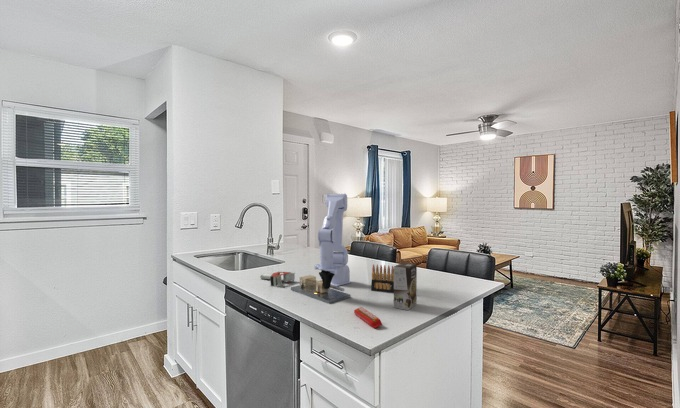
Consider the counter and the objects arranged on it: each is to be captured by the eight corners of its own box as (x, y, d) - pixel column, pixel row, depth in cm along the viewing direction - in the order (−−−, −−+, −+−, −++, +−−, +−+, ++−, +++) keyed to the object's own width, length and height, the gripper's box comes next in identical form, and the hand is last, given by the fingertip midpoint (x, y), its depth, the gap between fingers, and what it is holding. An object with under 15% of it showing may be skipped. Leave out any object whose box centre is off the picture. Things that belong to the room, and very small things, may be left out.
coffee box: (409, 310, 126) (409, 267, 125) (393, 307, 129) (393, 266, 129) (417, 304, 133) (417, 263, 133) (402, 301, 137) (401, 261, 136)
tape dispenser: (260, 281, 178) (258, 289, 158) (260, 271, 178) (258, 277, 158) (294, 277, 181) (296, 285, 161) (293, 268, 181) (295, 274, 161)
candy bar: (352, 314, 123) (352, 306, 123) (361, 313, 124) (361, 305, 124) (373, 330, 108) (373, 321, 108) (383, 328, 109) (383, 319, 109)
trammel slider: (322, 289, 149) (322, 280, 149) (328, 291, 146) (328, 281, 146) (315, 291, 146) (314, 281, 146) (320, 293, 144) (320, 283, 143)
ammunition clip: (371, 290, 152) (370, 264, 152) (372, 289, 154) (372, 263, 154) (394, 293, 148) (394, 266, 148) (395, 292, 150) (395, 265, 150)
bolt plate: (311, 285, 162) (311, 282, 162) (350, 297, 142) (350, 294, 142) (290, 289, 154) (290, 287, 154) (329, 303, 134) (328, 300, 134)
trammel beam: (310, 283, 160) (310, 275, 160) (345, 294, 142) (345, 284, 142) (298, 286, 156) (298, 277, 155) (333, 298, 138) (332, 287, 138)
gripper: (308, 255, 146) (309, 286, 147) (330, 260, 136) (331, 293, 136) (321, 253, 151) (321, 283, 152) (343, 258, 140) (343, 290, 141)
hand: (327, 288), depth 144 cm, fingers closed
